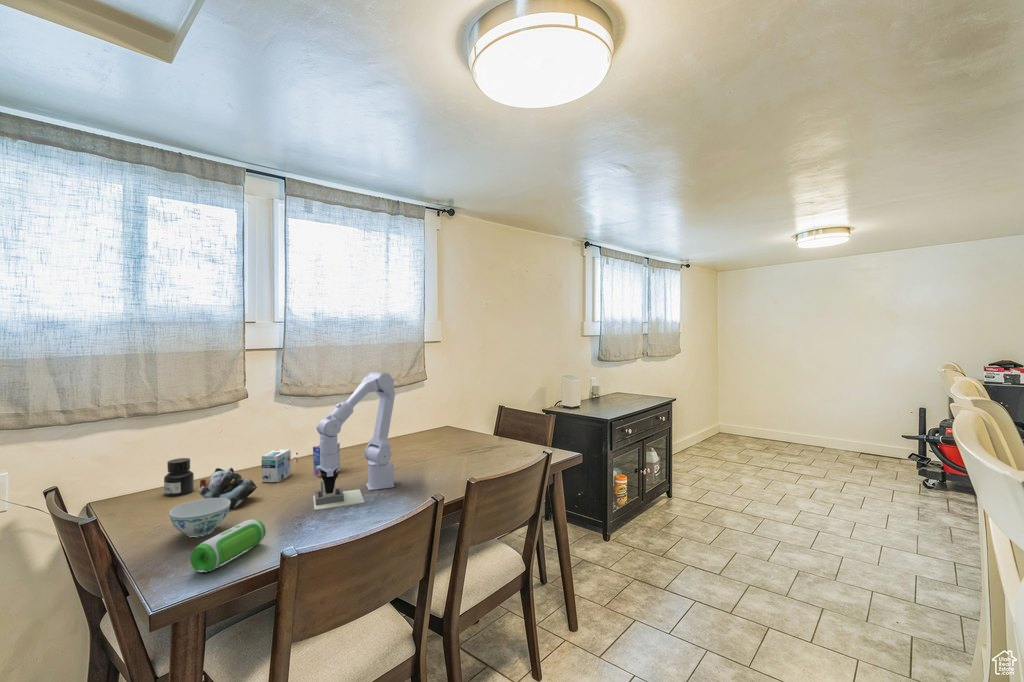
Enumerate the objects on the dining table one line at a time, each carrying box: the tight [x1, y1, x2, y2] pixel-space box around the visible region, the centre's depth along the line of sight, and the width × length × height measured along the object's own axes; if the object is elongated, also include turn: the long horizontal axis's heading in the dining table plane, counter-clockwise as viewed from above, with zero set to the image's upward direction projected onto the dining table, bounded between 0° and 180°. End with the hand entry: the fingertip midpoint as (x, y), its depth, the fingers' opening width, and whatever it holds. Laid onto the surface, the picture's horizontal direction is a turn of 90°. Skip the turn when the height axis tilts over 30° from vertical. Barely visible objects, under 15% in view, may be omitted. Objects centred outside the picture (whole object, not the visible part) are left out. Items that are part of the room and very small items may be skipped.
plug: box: [320, 479, 336, 498], centre depth 161 cm, size 5×4×6 cm
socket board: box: [312, 487, 365, 512], centre depth 161 cm, size 16×14×2 cm
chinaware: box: [168, 498, 230, 537], centre depth 135 cm, size 15×15×8 cm
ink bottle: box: [163, 457, 195, 497], centre depth 169 cm, size 10×9×12 cm
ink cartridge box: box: [312, 442, 341, 478], centre depth 192 cm, size 10×6×14 cm, turn 148°
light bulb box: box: [261, 448, 292, 483], centre depth 185 cm, size 11×7×11 cm, turn 179°
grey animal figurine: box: [198, 467, 258, 511], centre depth 157 cm, size 15×12×14 cm
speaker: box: [189, 518, 267, 572], centre depth 120 cm, size 18×7×8 cm, turn 166°
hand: (329, 491), depth 161 cm, fingers closed on plug, 4 cm apart
